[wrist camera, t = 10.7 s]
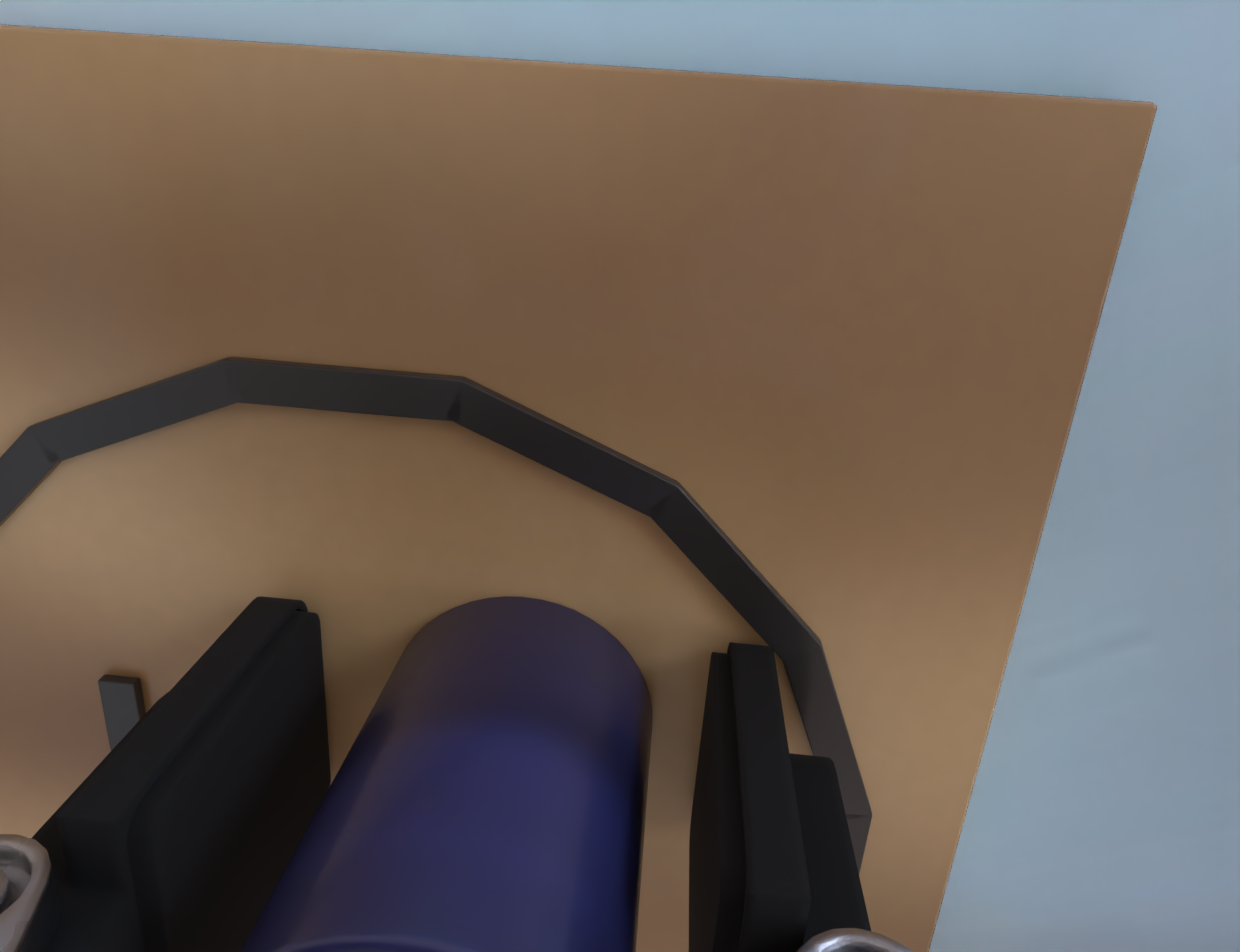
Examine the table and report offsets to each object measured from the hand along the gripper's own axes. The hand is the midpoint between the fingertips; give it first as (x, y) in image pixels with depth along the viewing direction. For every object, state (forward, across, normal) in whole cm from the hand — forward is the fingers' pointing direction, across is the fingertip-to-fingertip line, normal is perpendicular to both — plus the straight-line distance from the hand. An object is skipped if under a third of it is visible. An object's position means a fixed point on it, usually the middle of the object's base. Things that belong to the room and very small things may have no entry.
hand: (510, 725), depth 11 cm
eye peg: (0, 0, 0) cm, 0 cm away
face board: (+1, +2, +2) cm, 3 cm away
